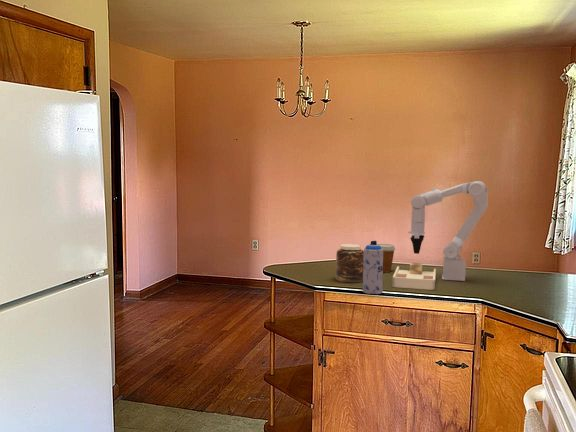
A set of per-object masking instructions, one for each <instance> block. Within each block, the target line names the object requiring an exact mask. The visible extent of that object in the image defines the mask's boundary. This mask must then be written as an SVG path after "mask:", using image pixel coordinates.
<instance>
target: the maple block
mask: <svg viewBox="0 0 576 432" xmlns="http://www.w3.org/2000/svg"><path fill="white" fill-rule="evenodd" d="M409 270H410V274H420V275H422V271H423V263H422V262H420V263H419V262H410V263H409Z"/></svg>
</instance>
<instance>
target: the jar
mask: <svg viewBox="0 0 576 432" xmlns="http://www.w3.org/2000/svg"><path fill="white" fill-rule="evenodd" d="M335 258H336V259H335V280H336V281H338V282H341V283H348V282H349V284H350V283H363V265H364V249H362V248H361V245H360V244H356V243H355V244H354V243H343V244H340V248H339V249H337V250H336V257H335Z"/></svg>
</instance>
